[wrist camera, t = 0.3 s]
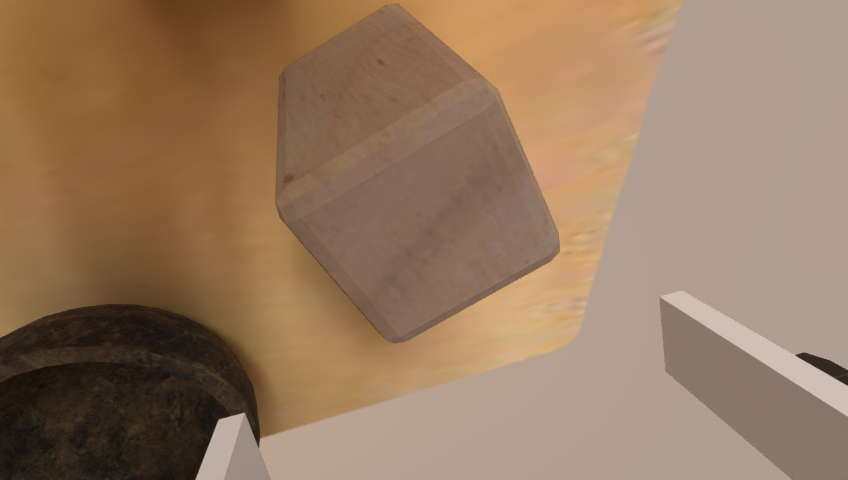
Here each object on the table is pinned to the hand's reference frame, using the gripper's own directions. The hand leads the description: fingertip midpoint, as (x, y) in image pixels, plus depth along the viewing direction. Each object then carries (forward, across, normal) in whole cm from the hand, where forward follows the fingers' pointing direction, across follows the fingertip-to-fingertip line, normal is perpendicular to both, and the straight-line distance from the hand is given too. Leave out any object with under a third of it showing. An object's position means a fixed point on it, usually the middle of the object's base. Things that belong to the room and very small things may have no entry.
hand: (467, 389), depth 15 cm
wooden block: (+26, +1, +9) cm, 28 cm away
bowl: (+31, -25, -9) cm, 41 cm away
